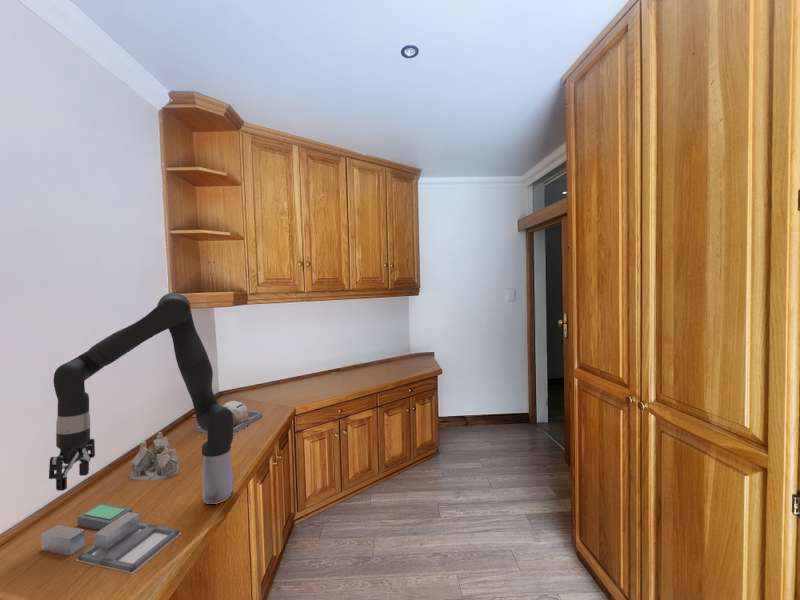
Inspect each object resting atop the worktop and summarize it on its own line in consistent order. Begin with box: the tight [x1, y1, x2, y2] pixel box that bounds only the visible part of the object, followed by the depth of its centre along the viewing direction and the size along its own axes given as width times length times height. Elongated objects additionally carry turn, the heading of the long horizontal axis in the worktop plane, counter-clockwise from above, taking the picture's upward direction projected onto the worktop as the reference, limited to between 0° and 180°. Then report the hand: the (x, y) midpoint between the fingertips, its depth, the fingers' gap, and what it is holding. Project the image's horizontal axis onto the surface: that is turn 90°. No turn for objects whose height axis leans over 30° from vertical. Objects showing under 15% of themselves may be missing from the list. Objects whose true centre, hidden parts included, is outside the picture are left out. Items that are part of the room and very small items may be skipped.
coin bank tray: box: [195, 410, 263, 434], centre depth 201 cm, size 27×20×2 cm
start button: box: [84, 504, 125, 521], centre depth 118 cm, size 5×10×2 cm, turn 77°
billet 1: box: [40, 524, 86, 556], centre depth 106 cm, size 4×10×6 cm, turn 79°
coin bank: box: [222, 400, 249, 428], centre depth 200 cm, size 16×17×13 cm
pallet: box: [75, 521, 182, 574], centre depth 107 cm, size 16×19×2 cm
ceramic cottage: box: [129, 431, 180, 481], centre depth 149 cm, size 16×16×15 cm
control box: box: [77, 502, 133, 531], centre depth 118 cm, size 7×12×4 cm, turn 77°
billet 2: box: [94, 512, 140, 557], centre depth 108 cm, size 10×4×6 cm, turn 167°
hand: (73, 482), depth 110 cm, fingers open, 8 cm apart
